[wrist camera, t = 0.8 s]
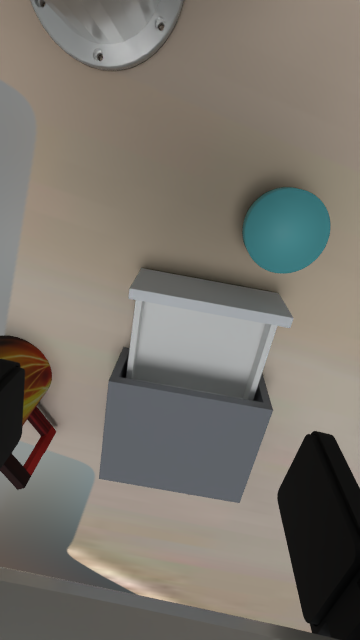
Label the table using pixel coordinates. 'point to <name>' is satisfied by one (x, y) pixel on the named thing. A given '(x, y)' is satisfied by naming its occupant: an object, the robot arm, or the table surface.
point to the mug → (29, 404)
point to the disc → (286, 229)
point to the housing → (181, 436)
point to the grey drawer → (202, 333)
